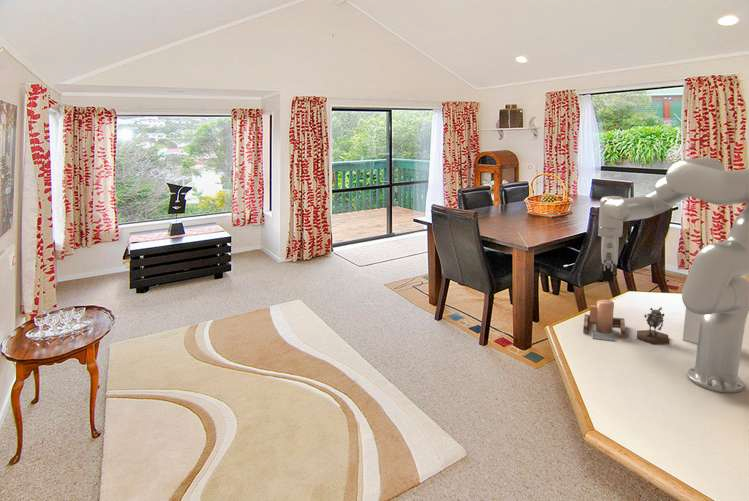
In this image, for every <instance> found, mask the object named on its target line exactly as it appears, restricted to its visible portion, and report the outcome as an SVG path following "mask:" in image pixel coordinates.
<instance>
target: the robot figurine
mask: <svg viewBox="0 0 749 501" xmlns="http://www.w3.org/2000/svg"><path fill="white" fill-rule="evenodd" d="M662 310H663V307H662V306H660V307H659V308H658V309H653V307H651V308H649V311H650V313H644V314H643V315H644V316H643V317H644V318H647V319H645V320H646V322H647V325H649V326H648V327H649V329H648V330H647V329H645V330H636V340H638V339H639V341H641V340H642V342H645V343H647V344H651V345H665V344H669V343H670V339H669V338H670V337H669V334H667V333H662V332H659V331H661V330H662V328H663V326H664V325H663V324H664V317H665V313H662V312H661V311H662ZM652 327H653V328H654V330H653V329H652Z"/></svg>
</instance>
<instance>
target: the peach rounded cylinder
mask: <svg viewBox="0 0 749 501" xmlns="http://www.w3.org/2000/svg"><path fill="white" fill-rule="evenodd" d="M589 307H590V308H589V315H590V322H596V323H595V331H597V333H601V334H611V333H612V332H613V317H614V310H615V309H614V308H615V303H614V302H613V301H612V300H609V299H598V300H596V305H593V304H591V305H589ZM610 332H611V333H610Z"/></svg>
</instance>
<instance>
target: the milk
mask: <svg viewBox="0 0 749 501" xmlns="http://www.w3.org/2000/svg"><path fill="white" fill-rule="evenodd" d="M701 317H702V315H699V314H695V313H693V312H691V311H690V310H688V309H687V308H686V307H685V314H684V322H683V331H682V341H686V342H690V343H694V344H697V345H698V337H699V328H700V321H701Z"/></svg>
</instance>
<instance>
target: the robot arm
mask: <svg viewBox="0 0 749 501" xmlns="http://www.w3.org/2000/svg"><path fill="white" fill-rule="evenodd" d="M654 190H655V191H653V192H650V193H648V194H646V195H641V196H635V197H633V196H632V197H626V198H624V197H623V196H620V195H618V196H617V195H607V196H603V197H601V198H600V201H599V211H598V212H599V214H598V230H597V236H599V237H601V242H600V243H601V244H600V245H601V246H600V249H601V250H600V253H601V254H600V256H601V257H600V258H601V264H602V271H601V272H602V277H601V278H602V279H601V280H602V282H605V283H613V282H614V281H613V279H614V278H613V277H614V270H613V267H614V265H615V266H617V265H618V261H619V260H618V259H619V245H620V244H619V243H620V242H619V238H621V237H623V229H624V228H623V227H624V226H623V225H624V222H630V221H636V220H642V219H649V218H652V217H655V216H657V215H659V214H662V213H665V212H666V211H669V210H670V209H672V208H673V207H674V206H675V205H676V204H677V203H679V202H682V201H683V200H686V199H688V198H690V197H691V198H694V199H697V200H700V201H703V202H706V203H708V204H713V205H716V206H733V205H739V204H746V205H745V207H744V208H743V209H742V211H740V213H739V214H738V215H737V217H736V218H735V219H734V221H733V223H732V226H731V229H730V232H729V234H728V235H727V237H726V239H724V240H723V241H718V242H711V243H709V244H707V245H705V246H704V247H702V248H701V249H700V250H699V251H698V252H697V253H696V255H695V256H694V259H693V261H692V263H691V266H690V269H689V271H688V274H687V276H686V279H685V282H684V284H683V287H682V291H681V298H682V299H681V300H682V302H683V304H684V307H685V309H686V308H687V309H688V310H690V311H691V312H693V313H695V314H699V315H702V317H701V321H700V328H699V337H698V344H697V347H696V355H695V358H696V359H695V364H694V366H693V367H692V368H689V369H688V370H687V378H688V380H690V381H691V382H692V383H694V384H695V385H698V386H699V387H702V388H704V389H706V390H711V391H715V392H718V393H739V392H741V391H742V390H743V389H744V386H745V383H744V381H743V379H742V378H740V377H739V370H740V363H741V361H740V360H741V354H742V349H743V348H742V346H743V341H744V340H743V339H744V334H745V327H746V323H747V318H748V314H749V280H748V279H746V278H745V277H743V276H746V275H749V168H744V169H735V170H726V169H725V166H724V164H723V163H722V162H721V161H720V160H718V159H715V158H713V157H697V158H686V159H682V160H678V161H676V162H674V163H673V164H672V165H670V167H669V168H668V169H667V170H666V174H665V176H663V177H661V178H660V179H658V180H657V181H656V182H655V185H654Z"/></svg>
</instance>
